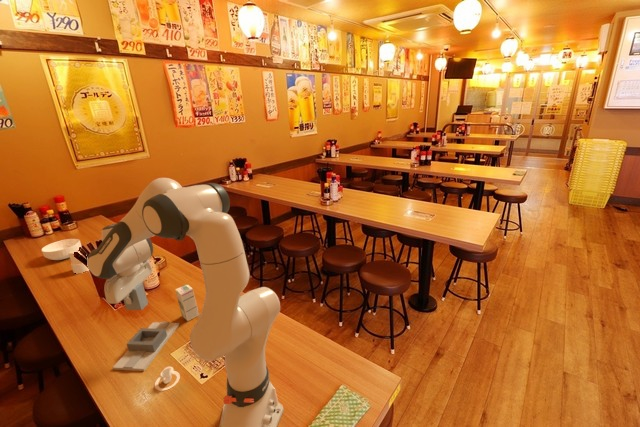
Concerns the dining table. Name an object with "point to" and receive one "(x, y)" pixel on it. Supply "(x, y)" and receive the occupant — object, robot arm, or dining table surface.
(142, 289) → the block
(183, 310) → the syrup box
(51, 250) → the bowl
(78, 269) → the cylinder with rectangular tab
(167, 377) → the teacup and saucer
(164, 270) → the dining table surface
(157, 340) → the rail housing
